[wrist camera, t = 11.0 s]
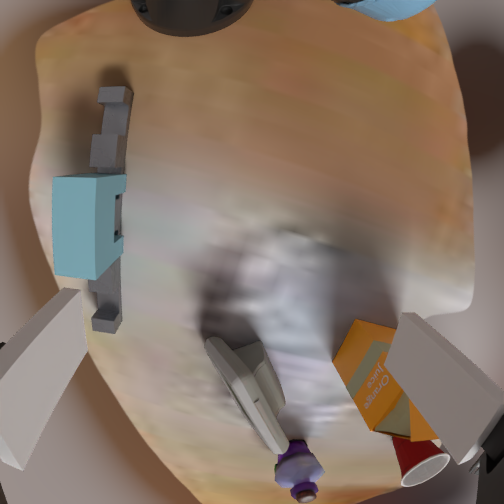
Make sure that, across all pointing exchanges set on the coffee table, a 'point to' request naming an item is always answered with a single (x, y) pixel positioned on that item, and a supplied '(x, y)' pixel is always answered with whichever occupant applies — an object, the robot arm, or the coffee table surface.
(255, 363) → the digital clock
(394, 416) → the orange juice
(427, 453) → the plastic cup
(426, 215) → the coffee table surface
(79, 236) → the block
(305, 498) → the potion bottle
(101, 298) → the rail
